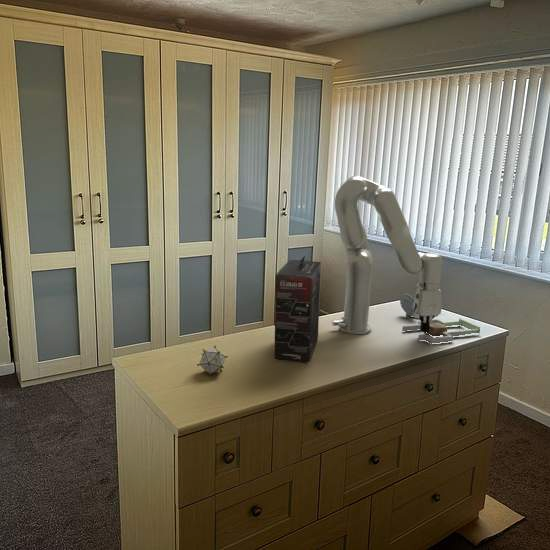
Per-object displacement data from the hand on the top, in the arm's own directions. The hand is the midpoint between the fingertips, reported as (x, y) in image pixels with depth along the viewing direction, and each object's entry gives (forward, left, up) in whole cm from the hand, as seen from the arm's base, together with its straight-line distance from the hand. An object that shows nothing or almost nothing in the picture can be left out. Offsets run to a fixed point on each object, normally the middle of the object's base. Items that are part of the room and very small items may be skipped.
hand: (424, 331), depth 200 cm
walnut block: (+5, 0, -2) cm, 5 cm away
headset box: (-54, -1, -2) cm, 54 cm away
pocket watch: (+13, +23, -2) cm, 26 cm away
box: (+8, 0, -2) cm, 8 cm away
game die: (-87, -13, -2) cm, 88 cm away
